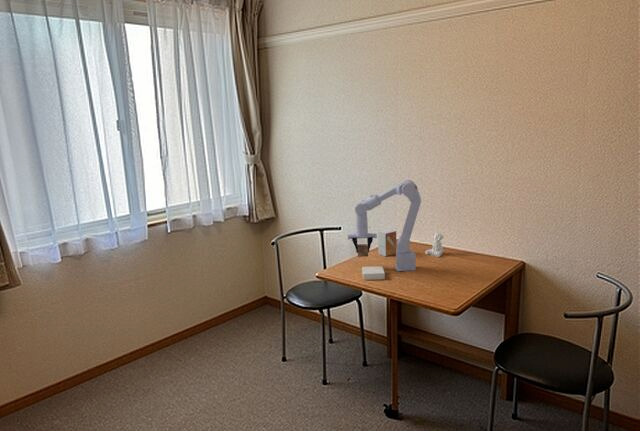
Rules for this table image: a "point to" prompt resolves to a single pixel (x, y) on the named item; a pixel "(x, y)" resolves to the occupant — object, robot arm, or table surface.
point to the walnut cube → (362, 250)
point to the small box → (387, 242)
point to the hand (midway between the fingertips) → (362, 252)
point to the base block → (373, 273)
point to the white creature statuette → (436, 246)
